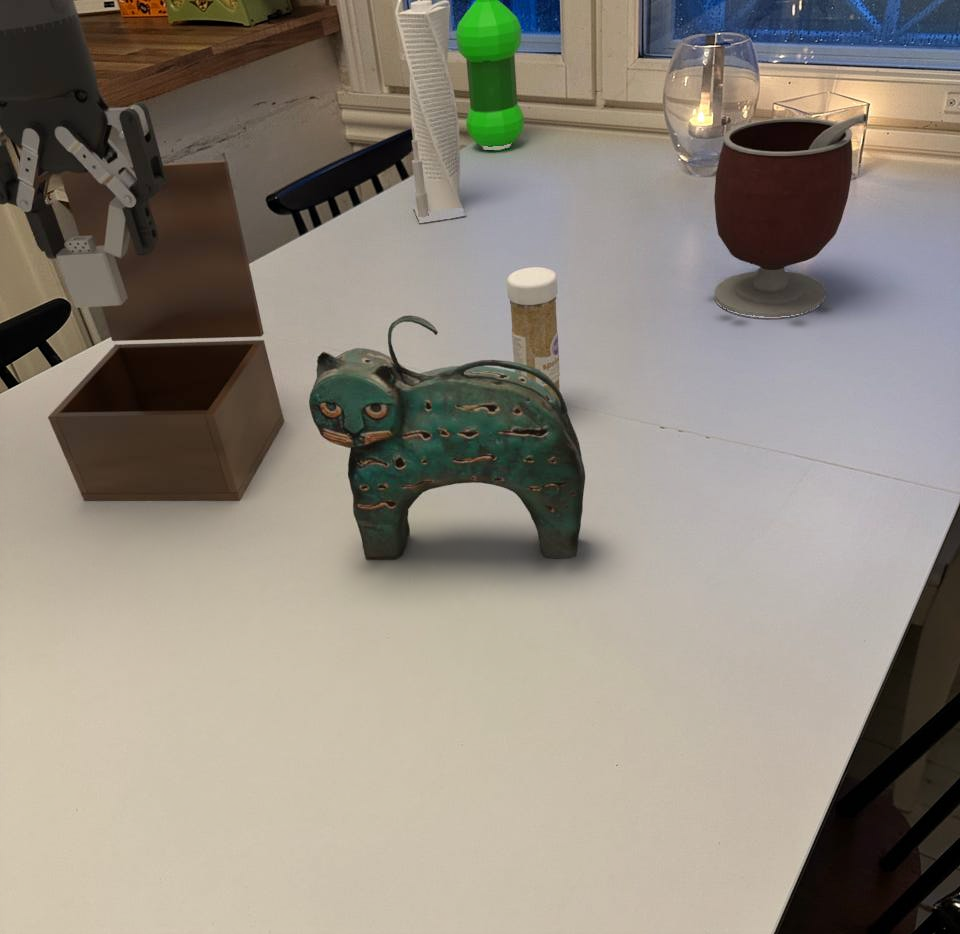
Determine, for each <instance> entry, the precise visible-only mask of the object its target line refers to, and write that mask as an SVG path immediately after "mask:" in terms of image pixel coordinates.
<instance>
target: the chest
mask: <svg viewBox="0 0 960 934" xmlns="http://www.w3.org/2000/svg"><path fill="white" fill-rule="evenodd" d="M266 347H267V346H266V343H265V340H264V339H257V340H225V341H224V340H222V341H189V342H187V341H186V342H156V343H155V342H154V343H153V342H151V343H123V344H118V343H117V344H114V345H113V347H111V348H110V350H108V352H106V354H105V355H104V356H103V357H102V358H101V359H100V361H98V362H97V364H96V365H95V366H94V367H93V368H92V369H91V370H90V371H89V372H88V373H87V374H86V375H85V377H83V378H82V380H81V381H80V382H79V383H78V384H77V385H76V386H75V387H74V388H73V389H72V391H71V392H70V393H69V394H68V395H67V396H66V397H65V398H64V399H63V400H62V401H61V403H59V404H58V405H57V406H56V407H55V408H54V409H53V411H52V412H51V413H50V414H49V415H48V416H47V419H48V420H49V424H50V426H51V428H52V430H53V432H54V435H55V438H56V439H57V442H58V445H59V447H60V449H61V451H62V453H63V456H64V458H65V460H66V463H67V465H68V467H69V469H70V472H71V474H72V476H73V479H74V481H75V483H76V486H77V488H78V491H79V493H80V495H81V498H82V500H83V501H240V500H241V498H242V497H243V495H244V493H245V492H246V489H247V488H248V486H249V485H250V483H251V481H252V479H253V478H254V475H255V473H257V470H258V468H259V466H260V465H261V463H262V461H263V460H264V458H265V456H266V454H267V452H268V451H269V449H270V447H271V445H272V443H273V442H274V439H275V438H276V436H277V435H278V433H279V431H280V429H281V427H282V426H283V424H284V422H285V417H284V415H283V411H282V406H281V402H280V398H279V394H278V391H277V387H276V386H277V385H276V383H275V379H274V375H273V371H272V366H271V363H270V358H269V355H268V351H267V348H266Z"/></svg>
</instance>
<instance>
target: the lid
mask: <svg viewBox="0 0 960 934" xmlns="http://www.w3.org/2000/svg"><path fill="white" fill-rule="evenodd" d="M228 165H229V164H228V161H227V159H220V160H218V159H217V160H203V161H189V162H172V163H163V167H164V171H165V175H166V178H167V184H166V186H165V187H164V188H163V189H161V190H160V191H159V192H158V193H157V194H155V195H154V196H153V197H151V198H149V205H150V209H151V212H152V215H153V219H154V222H155V225H156V229H157V232H158V241H157V242H156V243H155V248H154V250H153V251H152V252H150V253H149V254H148V255H140V256H139V255H137V253H136V251H135V248H134V245H133V242H132V238H131V235H130V236H129V244H128V250H127V252H126V254H125V255H124V256H123V257H122V258H118V257H116V256H114V257H115V260H116V263H117V266H118V269H119V272H120V275H121V278H122V281H123V284H124V287H125V291H126V294H127V297H128V298H127V299H126V300H125V302H124V303H123V304H122V305H116V306H100V307H101V309H102V313H103V317H104V319H105V322H106V325H107V329H108V332H109V336H110V339H111V341H112V342H123V341H125V342H126V341H127V342H128V341H159V340H160V341H161V340H162V341H163V340H193V339H196V340H197V339H223V338H256V337H257V338H258V337H259V338H261V337H263V336H264V335H265V334H264V328H263V323H262V318H261V314H260V309H259V305H258V300H257V296H256V291H255V286H254V282H253V276H252V272H251V267H250V262H249V258H248V254H247V249H246V245H245V239H244V236H243V231H242V226H241V220H240V217H239V212H238V206H237V202H236V198H235V193H234V189H233V183H232V180H231V175H230V170H229V166H228ZM129 166H130V168H131V169H132V170H133V171H134V168H133V165H129ZM134 172H135V171H134ZM59 175H60V178H61V181H62V185H63V188H64V191H65V195H66V198H67V201H68V205H69V207H70V211H71V215H72V217H73V221H74V223H75V226H76V229H77V232H78V236H91V235H92V236H93V239H94V242H95V245H96V246H105V238H106V229H107V220H108V212H109V204H110V202H111V201H112V200H113V199H114V198H115V197H116V196H115V194H114V193H113V192H112V191H111V190H110V189H109V188H108V187H107V186H106V185H103V184H101V183H99V182H98V181H97V180H96V179H95V178H94V177H93V175H92V174H91V173H90V172H89V171H88V172H87V173H73V172H69V171H65V172H62V173H60V174H59Z"/></svg>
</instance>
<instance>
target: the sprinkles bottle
mask: <svg viewBox="0 0 960 934" xmlns="http://www.w3.org/2000/svg"><path fill="white" fill-rule="evenodd" d="M506 288H507V289H506V291H507V298H508V301H509V304H510V314H511V315H510V318H511V338H512V339H511V340H512V354H513V362H515V363H521V364H524V365H527V366H530V367H533V368H536V369H538V370H540V371H541V372H543V373H544V374H545V375H547V376H548V377H549V378H550V379H551V380H552V381H553V382H554V383H555V384H556V386H557V388H558V389H559V391H560V389H561V388H560V386H561V385H560V376H561V374H560V373H561V372H560V370H561V369H560V352H559V350H560V349H559V333H558V321H557V320H558V318H557V302H556V301H557V296H558V277H557V274H556V273H555V271H553V270H552V269H550V268H546V267H539V266H538V267H536V266H534V267H526V268H525V267H524V268H521V269H518V270H515V271H514V272H511V274H509V275H508V277H507V280H506ZM514 372H517V373H519V374H522V375H524V376H527V377H528V378H530V379H532V380H533V381H535V382H537V383H539V384H540V385H542V386H543V387H545V388H546V389H547V390H548V391H549V392H550V393H552V394H553V395H554V396H555V397H556V398H557V399H558V401H559V398H558V396H557V395H556V393H555V392H554V391H553V390H552V388H551V387H550V386H548V385H547V384H545V383H544V382H543V381H541V380H540V379H539V378H537V377H535V376H533V375H532V374H529V373H527V372H524V371H519V370H515V369H514ZM560 392H561V391H560ZM559 402H560V401H559Z"/></svg>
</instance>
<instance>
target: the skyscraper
mask: <svg viewBox="0 0 960 934" xmlns="http://www.w3.org/2000/svg"><path fill="white" fill-rule="evenodd" d="M401 1H402V0H397V3H396V7H395V12H394V17H395V20H396V23H397V28H398V33H399V36H400V40H401V44H402V48H403V49H402V50H403V52H404V53H403V54H404V57H405V60H406V64H407V69H408V72H409V107H410V109H409V110H410V118H411V119H410V120H411V127H410V128H411V135H412V140H411V146H412V147H411V148H412V155H413V160H411V164H412V174H413V180H414V187H415V193H414V196H415V203H416V206H417V210H418V217H423V218H424V217H426V216H429V213H428V211H429V212H431V211H438V210H443V209H451V208H462V207H463V204H462V202H461V200H460V183H461V181H460V178H461V142H460V141H461V140H460V125H459V115H458V107H457V101H456V96H455V91H454V86H453V83H452V77H451V75H450V71H449V68H448V56H449V39H450V38H449V36H450V19H451V18H450V17H451V4H450V1H449V0H440V1H438V2H436V3H434V4H433V3H432V2H433V1H432V0H415V1H413V2H411V3H410V8H409V9H406V10H403V11H400V12H399V9H400V5H401ZM458 197H459V198H458ZM413 212H414V211H413ZM414 214H415V212H414ZM415 218H416V220H417V221H418V219H417V217H416V216H415ZM463 218H467V215H466V216H463V217H457V218H451V219H444V220H438V221H431V222H425V223H419V222H418V225H424V224H430V223H436V222H443V221H448V220H449V221H450V220H456V219H463Z"/></svg>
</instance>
